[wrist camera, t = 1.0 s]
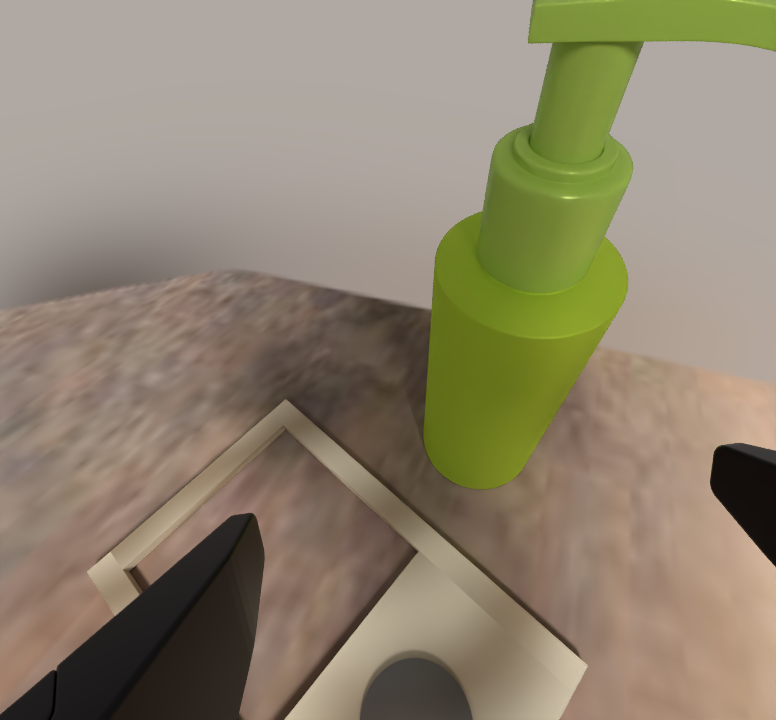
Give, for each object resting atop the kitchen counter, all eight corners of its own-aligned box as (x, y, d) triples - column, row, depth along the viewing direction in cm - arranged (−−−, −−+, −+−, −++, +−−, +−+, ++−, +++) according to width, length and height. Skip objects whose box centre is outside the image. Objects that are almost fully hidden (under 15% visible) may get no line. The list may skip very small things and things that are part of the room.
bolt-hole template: (583, 665, 18) (590, 665, 18) (386, 1032, 13) (385, 1053, 13) (288, 404, 26) (284, 396, 25) (94, 573, 21) (83, 570, 20)
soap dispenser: (547, 504, 22) (956, 56, 6) (414, 477, 23) (429, 34, 7) (549, 405, 25) (814, -66, 9) (432, 385, 26) (472, -68, 10)
